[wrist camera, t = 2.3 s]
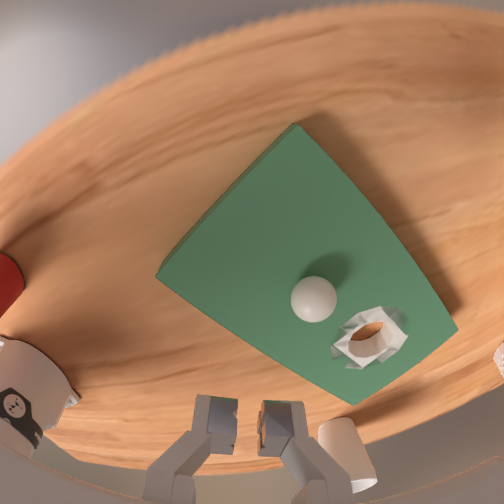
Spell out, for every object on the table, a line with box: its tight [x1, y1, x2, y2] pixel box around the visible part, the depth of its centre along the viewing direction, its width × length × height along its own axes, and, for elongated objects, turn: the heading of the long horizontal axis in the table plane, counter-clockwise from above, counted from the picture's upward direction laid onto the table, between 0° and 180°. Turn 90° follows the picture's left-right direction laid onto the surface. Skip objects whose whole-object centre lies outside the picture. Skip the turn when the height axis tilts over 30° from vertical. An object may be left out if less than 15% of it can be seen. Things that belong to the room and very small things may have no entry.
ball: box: [291, 276, 337, 322], centre depth 25 cm, size 4×4×4 cm
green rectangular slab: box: [155, 123, 458, 406], centre depth 30 cm, size 18×32×3 cm, turn 47°
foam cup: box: [318, 417, 377, 493], centre depth 38 cm, size 10×9×13 cm
